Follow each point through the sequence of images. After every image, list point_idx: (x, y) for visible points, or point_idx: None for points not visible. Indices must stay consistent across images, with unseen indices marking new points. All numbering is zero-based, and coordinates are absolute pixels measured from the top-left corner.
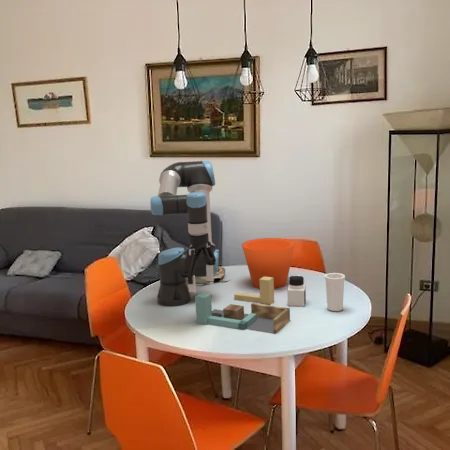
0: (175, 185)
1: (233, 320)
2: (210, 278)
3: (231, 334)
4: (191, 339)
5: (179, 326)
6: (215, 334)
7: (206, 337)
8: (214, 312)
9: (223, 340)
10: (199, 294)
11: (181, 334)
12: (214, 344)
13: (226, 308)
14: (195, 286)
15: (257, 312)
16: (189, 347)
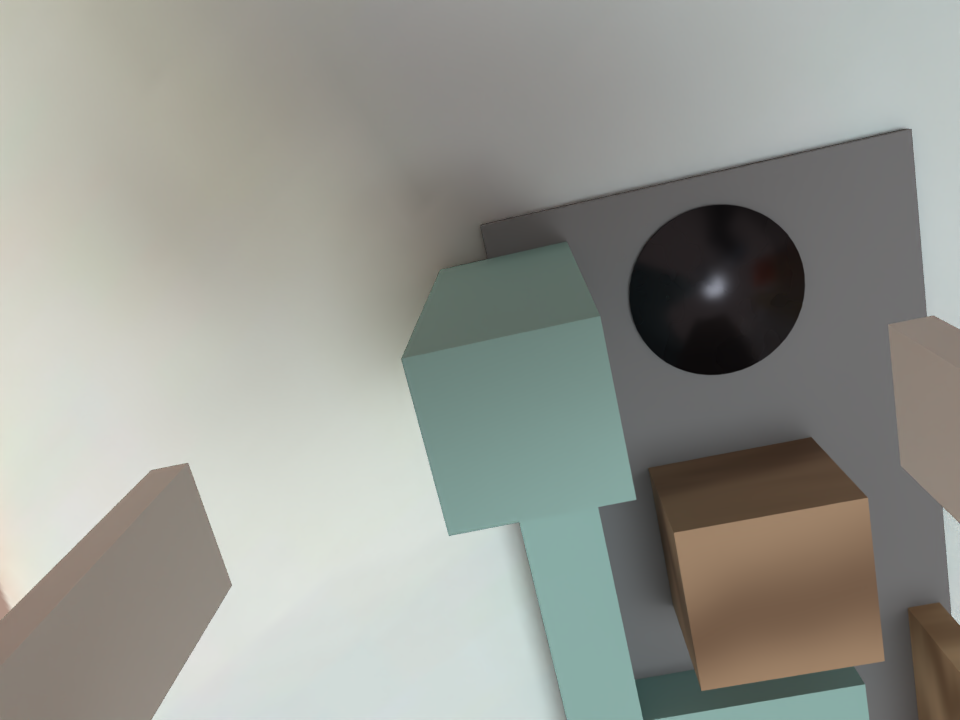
0: None
1: (594, 665)
2: (924, 443)
3: (449, 693)
4: None
5: (275, 153)
6: (362, 588)
7: (262, 568)
8: (812, 209)
9: (312, 714)
10: (515, 355)
11: (150, 333)
12: (207, 706)
13: (709, 554)
14: (189, 652)
15: (937, 698)
16: (23, 588)
